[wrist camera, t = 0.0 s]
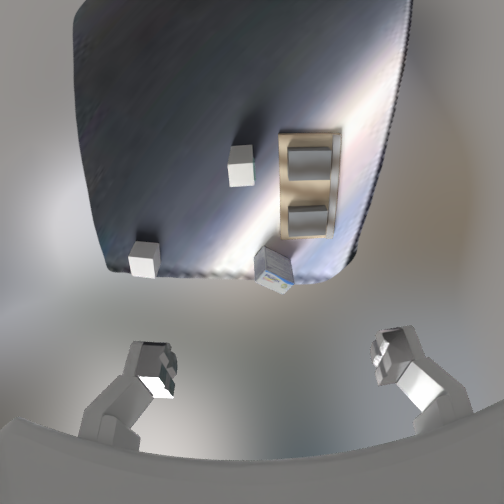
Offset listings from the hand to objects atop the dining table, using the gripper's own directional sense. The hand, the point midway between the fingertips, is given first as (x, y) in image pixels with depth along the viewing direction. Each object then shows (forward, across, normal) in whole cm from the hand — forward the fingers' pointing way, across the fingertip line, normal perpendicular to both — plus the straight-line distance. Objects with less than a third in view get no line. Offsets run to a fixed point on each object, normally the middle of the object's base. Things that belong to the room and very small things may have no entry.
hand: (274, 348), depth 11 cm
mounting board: (+48, -10, +17) cm, 52 cm away
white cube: (+48, +28, +31) cm, 64 cm away
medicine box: (+48, -2, +35) cm, 60 cm away
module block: (+48, +3, +9) cm, 49 cm away
